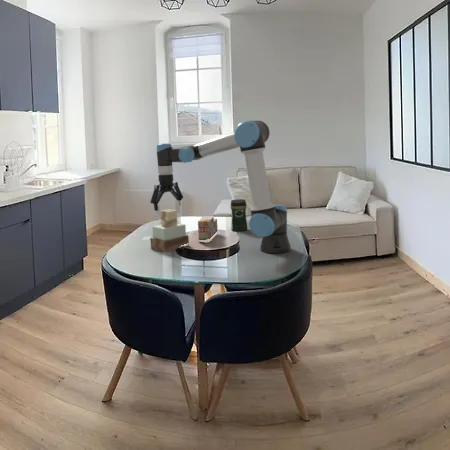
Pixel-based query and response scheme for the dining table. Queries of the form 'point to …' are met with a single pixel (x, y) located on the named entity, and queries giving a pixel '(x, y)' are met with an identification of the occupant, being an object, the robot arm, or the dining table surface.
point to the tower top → (169, 232)
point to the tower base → (168, 243)
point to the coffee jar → (238, 215)
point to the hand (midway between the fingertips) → (168, 214)
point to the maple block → (168, 218)
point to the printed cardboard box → (207, 227)
